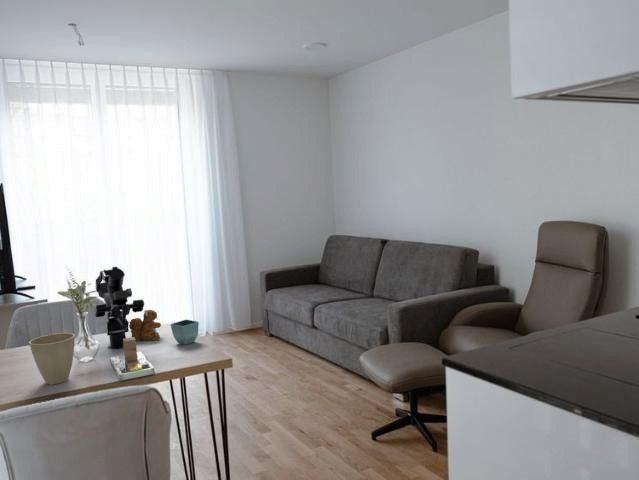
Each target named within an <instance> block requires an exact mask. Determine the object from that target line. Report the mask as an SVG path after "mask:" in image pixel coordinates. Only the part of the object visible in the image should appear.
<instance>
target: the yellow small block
mask: <svg viewBox="0 0 639 480" xmlns="http://www.w3.org/2000/svg"><path fill="white" fill-rule="evenodd" d="M128 369H129V372H133V371H138V370H143V369H142V367H141V365H140V364H134V365H129V366H128Z"/></svg>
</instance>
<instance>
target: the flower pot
mask: <svg viewBox="0 0 639 480" xmlns="http://www.w3.org/2000/svg"><path fill="white" fill-rule="evenodd" d="M170 328H171V332H172V336H173V338H174V340H175V341H176V342H177V343H178V344H180V345H184V346H186V345H190V344H191V343H195V341H196V340H197V338H198V335H199V321H197V320H192V319H182V320H180V321H176V322H173V323H171V324H170Z"/></svg>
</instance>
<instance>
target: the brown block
mask: <svg viewBox="0 0 639 480" xmlns="http://www.w3.org/2000/svg"><path fill="white" fill-rule="evenodd" d="M123 346H124V347H123V354H124V358H125V366H126V369H127V370H128V372H129V369H128V366H129V365H134V364H140V363H139V361H138V359H137V352H138V350H137V341H136V339H135V338H134V337H132V336H130V337H126V338H125V339H123ZM128 372H127V373H128Z"/></svg>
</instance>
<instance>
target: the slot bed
mask: <svg viewBox="0 0 639 480" xmlns="http://www.w3.org/2000/svg"><path fill="white" fill-rule="evenodd" d="M137 359H138V361H139V363H140V365H141V367H142V370H143V369H148V368H147V362H149V360H148V359H147V358H146V357H145V355H144V354H143V351H137ZM109 361H110V364H111V365H112V367H113V369H114V372H115V374H116V375H117V372H116V368H119V369H120V371H121V373H122V374H123V373H128V370H127V369H126V366H125V357H121V358H120V356H118V355H116V356H110V357H109Z"/></svg>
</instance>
